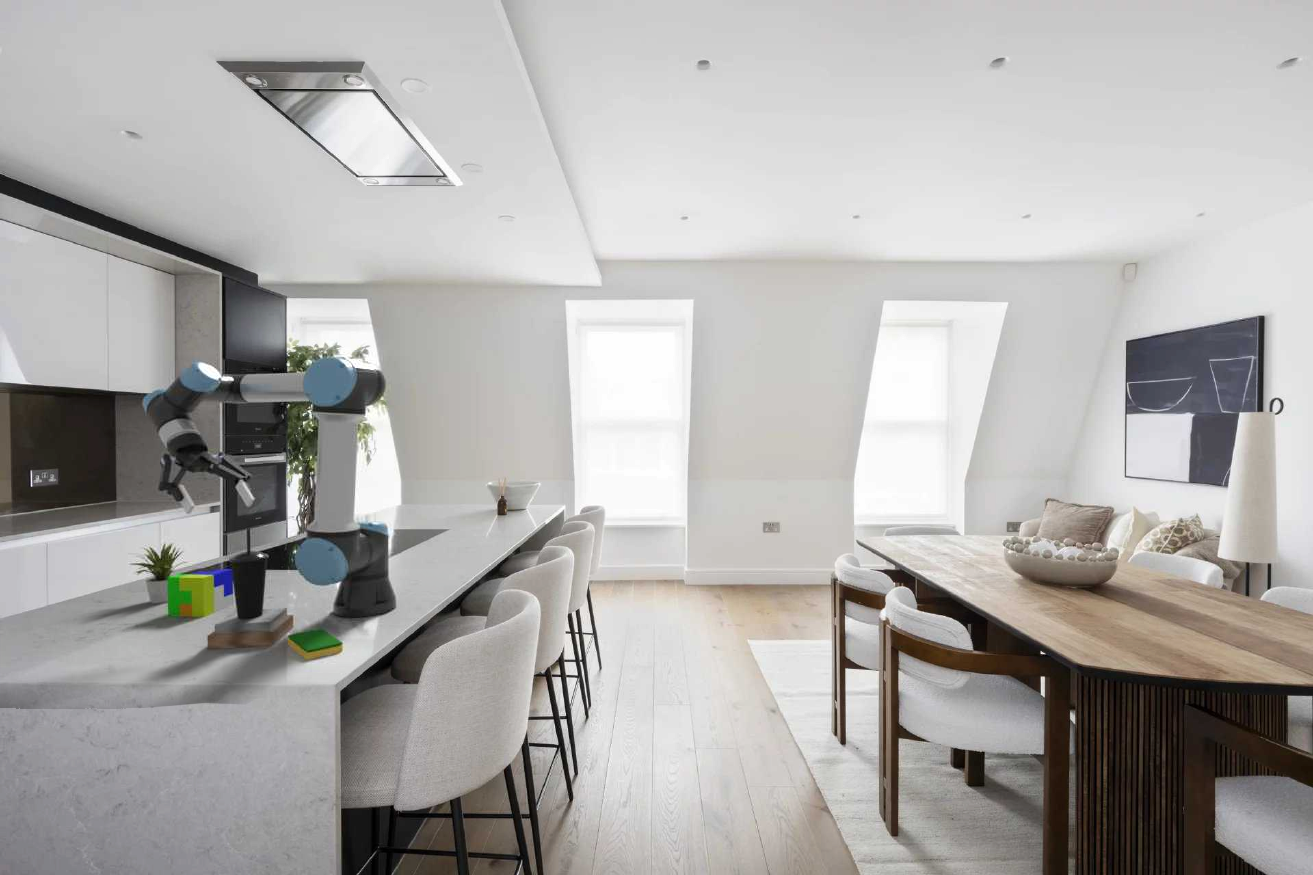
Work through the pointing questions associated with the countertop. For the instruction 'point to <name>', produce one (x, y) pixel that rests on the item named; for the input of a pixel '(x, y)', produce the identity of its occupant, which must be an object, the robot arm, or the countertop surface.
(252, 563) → the drinking cup
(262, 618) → the two-layer plinth
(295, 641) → the dish sponge
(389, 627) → the countertop surface
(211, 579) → the puzzle toy
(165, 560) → the house plant
